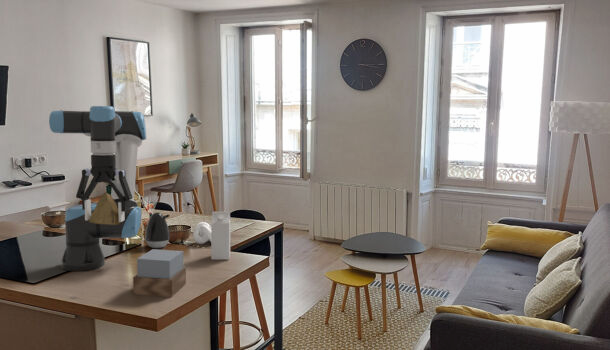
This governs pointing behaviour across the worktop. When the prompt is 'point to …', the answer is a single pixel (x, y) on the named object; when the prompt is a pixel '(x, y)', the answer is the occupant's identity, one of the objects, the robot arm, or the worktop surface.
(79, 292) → the worktop surface
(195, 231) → the white spiral shell
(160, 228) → the pump dispenser
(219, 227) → the milk carton
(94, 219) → the rock
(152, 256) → the top block
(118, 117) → the robot arm
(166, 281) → the bottom block
